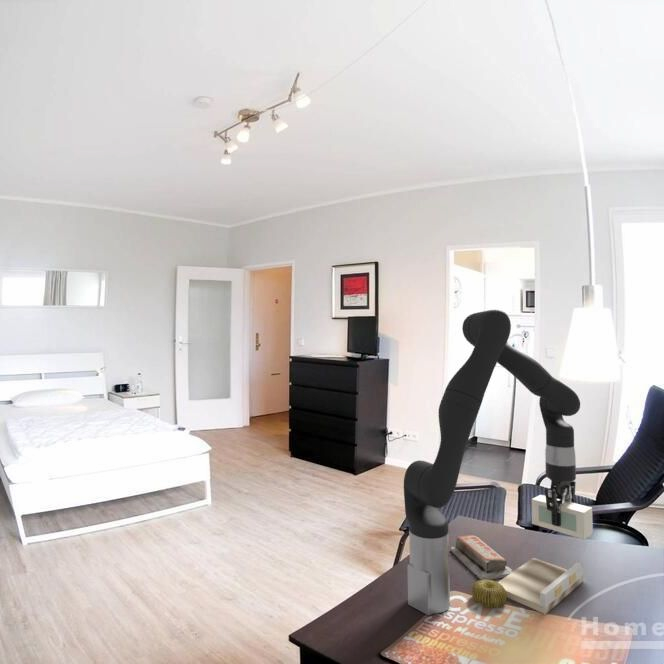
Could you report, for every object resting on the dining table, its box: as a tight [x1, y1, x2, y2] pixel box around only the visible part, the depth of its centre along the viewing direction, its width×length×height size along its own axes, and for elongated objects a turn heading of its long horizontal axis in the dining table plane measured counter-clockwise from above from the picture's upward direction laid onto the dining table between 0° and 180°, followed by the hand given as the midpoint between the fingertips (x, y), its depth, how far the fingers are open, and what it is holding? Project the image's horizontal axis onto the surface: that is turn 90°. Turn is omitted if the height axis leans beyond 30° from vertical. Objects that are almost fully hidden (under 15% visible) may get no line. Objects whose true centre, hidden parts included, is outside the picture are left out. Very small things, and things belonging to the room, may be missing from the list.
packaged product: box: [450, 534, 514, 580], centre depth 131 cm, size 18×5×10 cm
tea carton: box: [531, 494, 594, 540], centre depth 129 cm, size 6×14×7 cm, turn 41°
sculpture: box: [471, 579, 508, 609], centre depth 112 cm, size 8×4×8 cm
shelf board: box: [497, 557, 584, 615], centre depth 118 cm, size 21×13×2 cm, turn 131°
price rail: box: [540, 561, 584, 608], centre depth 113 cm, size 21×1×3 cm, turn 131°
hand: (561, 522), depth 129 cm, fingers closed on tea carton, 5 cm apart
